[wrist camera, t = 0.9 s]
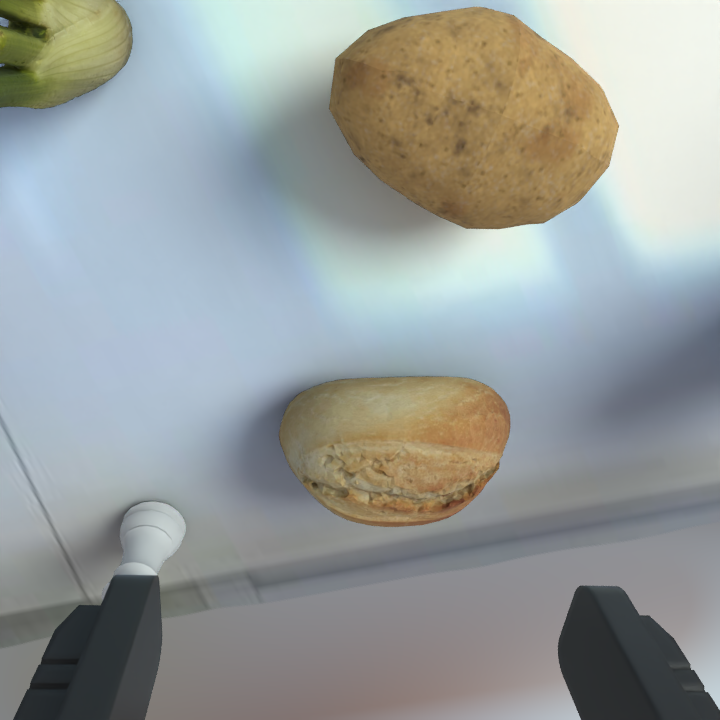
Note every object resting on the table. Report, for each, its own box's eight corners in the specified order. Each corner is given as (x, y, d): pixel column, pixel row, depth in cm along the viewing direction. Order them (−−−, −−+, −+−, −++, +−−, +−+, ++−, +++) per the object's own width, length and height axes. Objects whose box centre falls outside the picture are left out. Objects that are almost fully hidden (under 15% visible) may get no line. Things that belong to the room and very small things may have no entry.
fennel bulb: (92, 117, 32) (-21, 133, 21) (10, 41, 30) (-159, 17, 19) (161, 32, 31) (78, 2, 20) (79, -52, 29) (-60, -135, 18)
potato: (356, -27, 30) (370, -63, 23) (599, 68, 33) (681, 63, 26) (304, 165, 34) (302, 187, 27) (526, 237, 37) (579, 275, 29)
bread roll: (496, 463, 43) (533, 539, 36) (290, 484, 43) (286, 565, 36) (500, 341, 39) (542, 399, 32) (272, 363, 39) (263, 427, 32)
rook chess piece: (125, 544, 44) (88, 635, 37) (122, 495, 42) (83, 580, 35) (187, 547, 44) (163, 637, 37) (187, 498, 43) (162, 583, 35)
